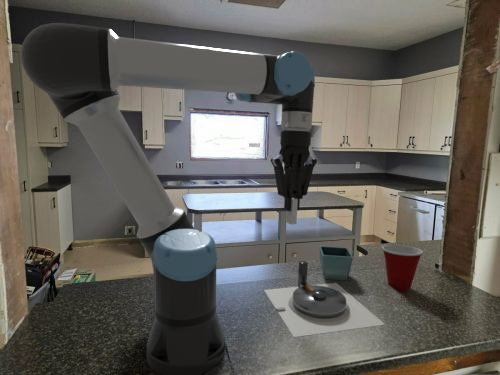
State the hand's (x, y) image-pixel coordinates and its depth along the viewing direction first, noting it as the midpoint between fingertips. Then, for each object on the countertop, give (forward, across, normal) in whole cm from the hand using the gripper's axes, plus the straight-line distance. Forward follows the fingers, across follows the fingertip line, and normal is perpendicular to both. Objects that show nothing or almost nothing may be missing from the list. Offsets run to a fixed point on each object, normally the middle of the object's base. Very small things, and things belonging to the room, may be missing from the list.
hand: (290, 222), depth 84 cm
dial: (+19, +4, -6) cm, 21 cm away
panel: (+21, +4, -8) cm, 23 cm away
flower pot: (+21, +20, +4) cm, 29 cm away
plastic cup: (+20, +34, -9) cm, 40 cm away
